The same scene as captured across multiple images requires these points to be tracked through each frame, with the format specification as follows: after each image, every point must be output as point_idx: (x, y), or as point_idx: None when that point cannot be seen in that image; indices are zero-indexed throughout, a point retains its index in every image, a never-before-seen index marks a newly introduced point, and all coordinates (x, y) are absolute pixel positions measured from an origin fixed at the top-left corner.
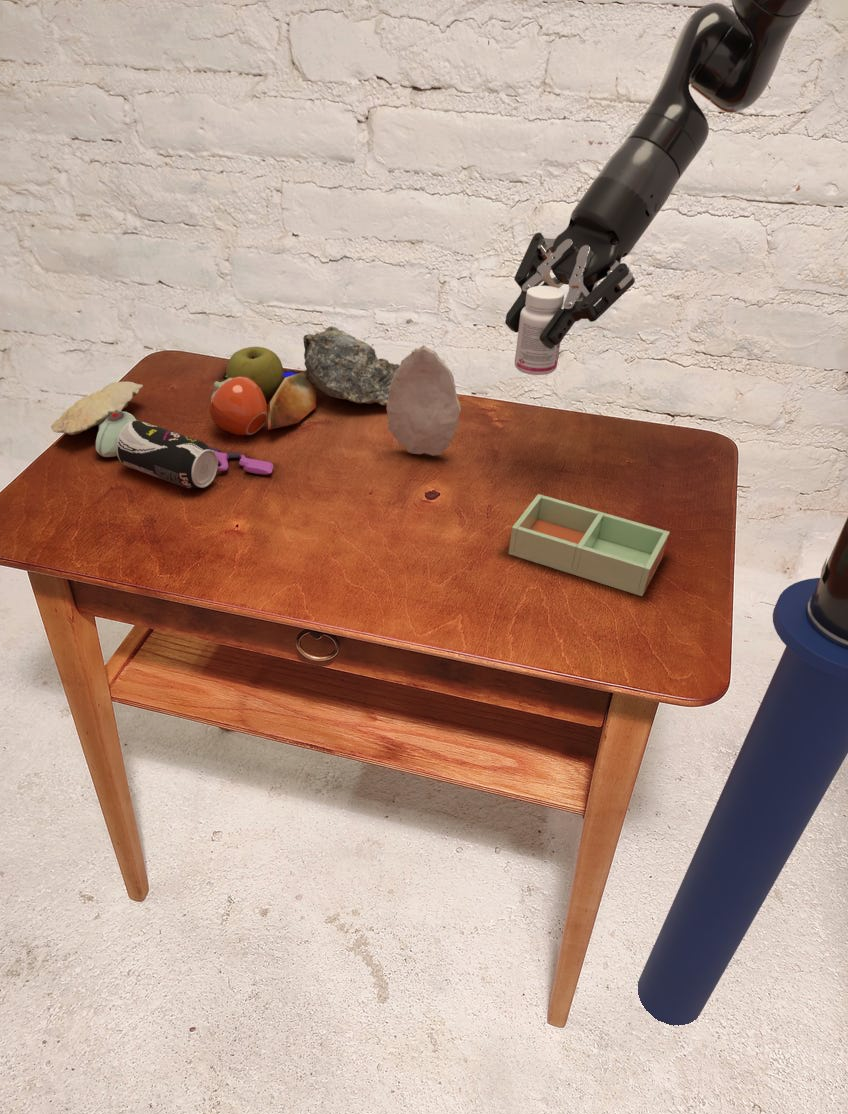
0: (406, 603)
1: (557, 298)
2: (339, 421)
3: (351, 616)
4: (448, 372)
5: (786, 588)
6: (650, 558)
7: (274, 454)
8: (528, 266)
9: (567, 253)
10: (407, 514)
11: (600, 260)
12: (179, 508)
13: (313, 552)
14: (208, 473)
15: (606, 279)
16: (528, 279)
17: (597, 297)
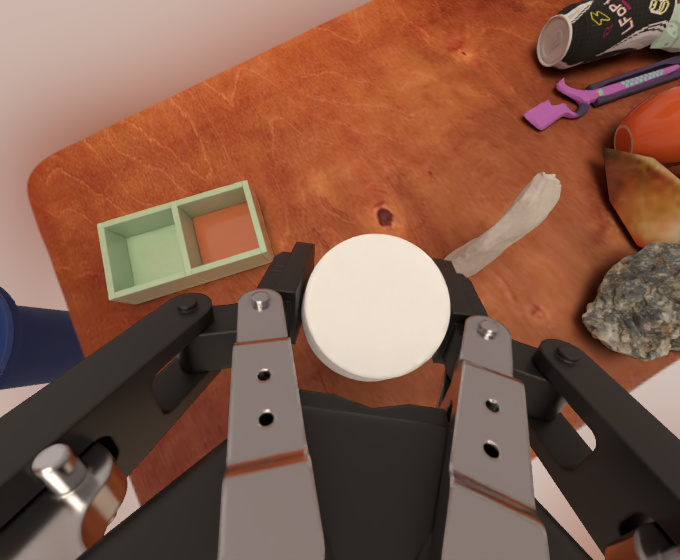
0: (275, 86)
1: (306, 287)
2: (590, 252)
3: (295, 48)
4: (483, 234)
5: (5, 349)
6: (104, 239)
7: (562, 149)
8: (588, 401)
9: (437, 522)
10: (374, 174)
11: (136, 544)
12: (522, 33)
13: (385, 75)
14: (550, 54)
15: (74, 407)
16: (527, 373)
17: (129, 330)
